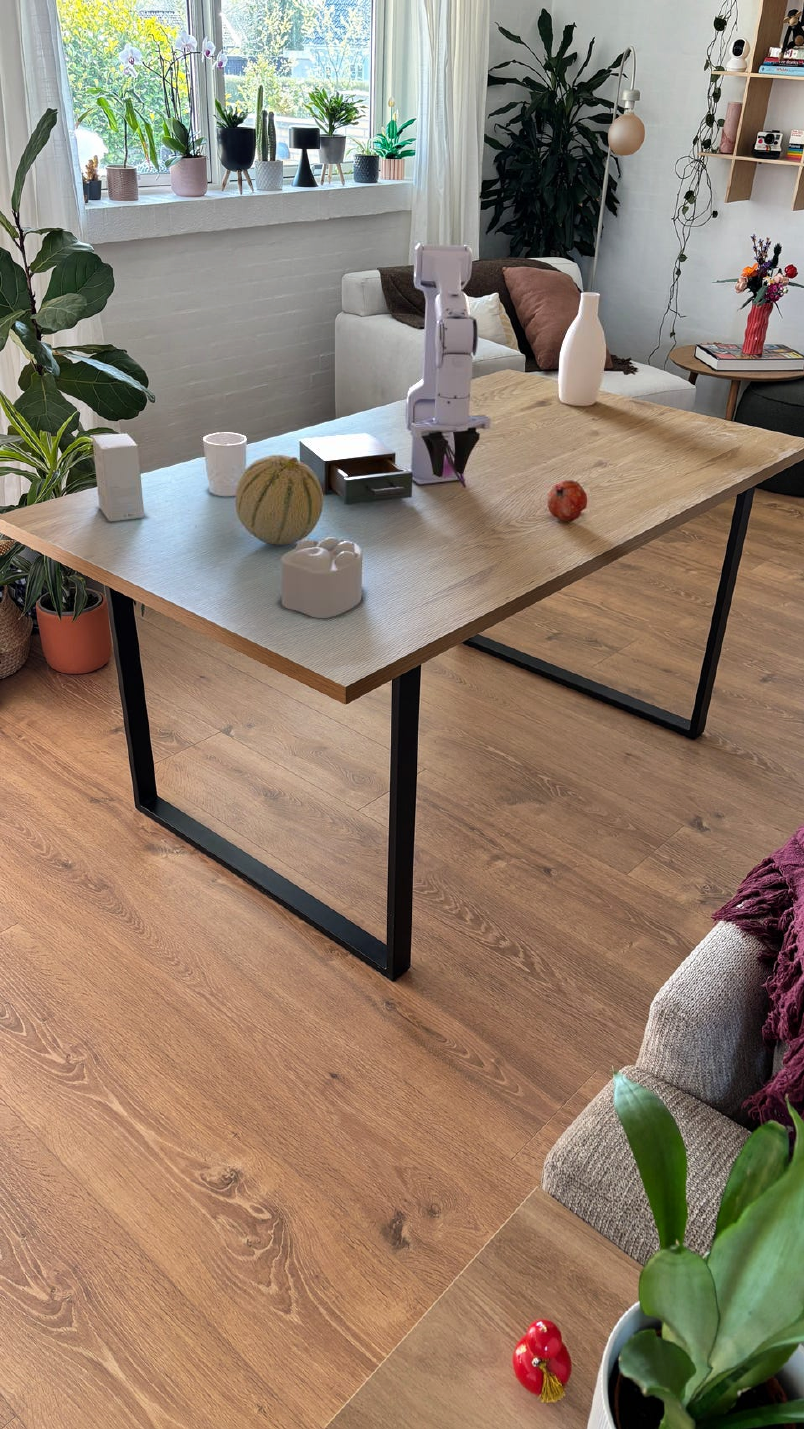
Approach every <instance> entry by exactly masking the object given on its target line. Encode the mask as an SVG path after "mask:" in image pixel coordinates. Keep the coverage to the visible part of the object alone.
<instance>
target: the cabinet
mask: <svg viewBox="0 0 804 1429" xmlns="http://www.w3.org/2000/svg"><path fill="white" fill-rule="evenodd" d="M298 443H299V461H300V462H302V463H304V464H305V465H307V466H308V467H309V468H310V469H311V470H312V471H313V472H314V474H315V475H316V477H317V479H318V481H319V483H320V486H321V489H322V493H323V495H331V494H338V493H337V492H336V491H335V490H334V489H332V488H331V487H330V486H329V485H328V472H329V464H335V463H344V462H353V461H363V460H372V459H381V458H388V459H389V460H391V461H392V462H394V463H395V464H396V457H397V456H396V452H395V451H393V449H391V448H390V447H388V446H386V445H385V444H384V443H383V442H381V441H380V440H378V439H377V438H376V437H374V436H372V435H371V434H370V433H368V432H365V433H355V434H346V435H345V434H344V435H334V436H333V435H332V436H324V437H313V438H304V439H299V442H298Z"/></svg>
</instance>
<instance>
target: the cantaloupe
mask: <svg viewBox="0 0 804 1429" xmlns="http://www.w3.org/2000/svg"><path fill="white" fill-rule="evenodd" d="M234 498H235V499H234V505H235V510H236V515H237V517H238V520H239V521H240V523H241V525H242V526H243V527H244V528H245V530H246V531H247V532H248V533H249V534H250V535H252V536H253V537H254V538H256V539H257V540H258V541H261V542H262V543H267V544H268V545H269V544H270V545H278V546H279V545H280V546H285V545H286V546H287V545H291V544H294V543H298V542H299V541H301V540H303V539H306V537H308V536H309V535H310V534H311V533H312V532H313V531H314V529H315V528H316V526H317V525H318V522H319V520H320V518H321V516H322V512H323V504H324V493H323V492H322V489H321V486H320V483H319V481H318V479H317V477H316V475H315V474H314V472H313V471H312V470H311V469H310V468H309V467H308V466H307V465H305V464H304V463H302V462H300V459H298V458H297V457H295V456H289V455H284V454H271V455H267V456H264V457H262V458H259V459H257V460H255V461H253V462H252V463H251V464H249V466H246V470H245V471H244V472H243V474H242V476H241V478H240V480H239V482H238V485H237V489H236V496H235V497H234Z"/></svg>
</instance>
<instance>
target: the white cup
mask: <svg viewBox="0 0 804 1429" xmlns="http://www.w3.org/2000/svg"><path fill="white" fill-rule="evenodd" d="M202 440H203V441H202V442H203V451H204V452H203V453H204V461H205V469H206V478H207V480H208V490H209V493H210V494H212V495H214V496H219V497H236V489H237V485H238V482H239V480H240V478H241V476H242V474H243V472H244V471H245V470H246V469H247V437H246V436H245V435H243V434H240V433H235V432H215V433H210V434H208V435H205V436H204V437H203V438H202Z"/></svg>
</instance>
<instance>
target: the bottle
mask: <svg viewBox="0 0 804 1429" xmlns="http://www.w3.org/2000/svg"><path fill="white" fill-rule="evenodd" d="M600 297H601V294H600V293H598V292H591V291H583V292H581V293H580V302H579V307H578V314H577V316H576V317H575V319H574V320H573V321H572V323H571V325H570V326H569V328H568V329H567V332H566V334H565V337H564V339H563V341H562V345H561V349H560V352H559V364H558V365H559V366H558V396H559V400H560V403H563V404H566V405H569V406H576V407H588V406H592V405H594V404H595V403H596V402H597V399H598V396H599V392H600V389H601V385H602V382H603V378H604V377H603V376H604V371H605V365H606V360H607V344H606V337H605V332H604V329H603V326H602V324H601V321H600V318H599V305H600V304H599V301H600Z"/></svg>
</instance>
